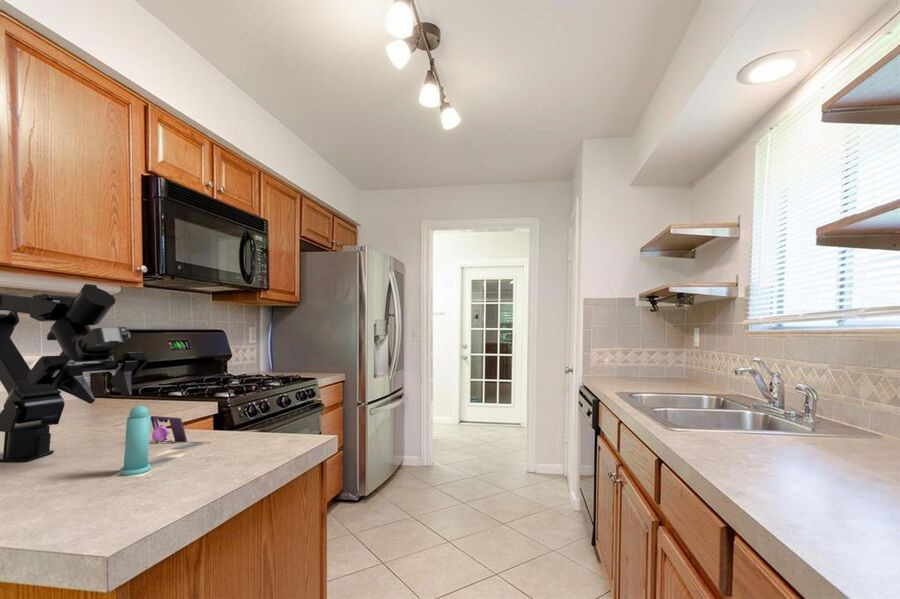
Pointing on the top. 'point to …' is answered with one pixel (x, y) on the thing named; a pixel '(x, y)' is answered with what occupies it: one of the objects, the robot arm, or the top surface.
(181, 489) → the top surface
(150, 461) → the board
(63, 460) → the top surface
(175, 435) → the purple piece
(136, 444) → the pawn
